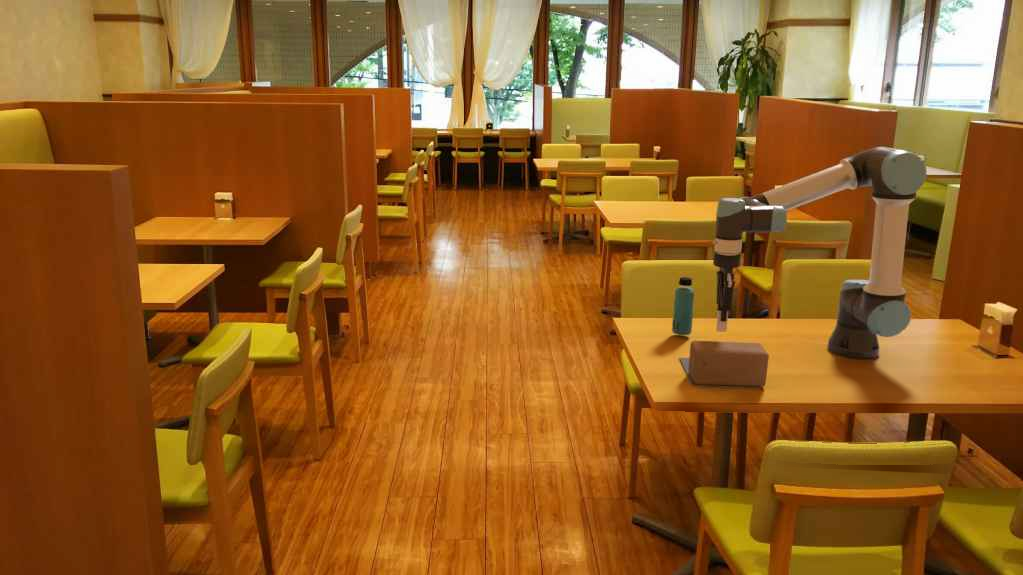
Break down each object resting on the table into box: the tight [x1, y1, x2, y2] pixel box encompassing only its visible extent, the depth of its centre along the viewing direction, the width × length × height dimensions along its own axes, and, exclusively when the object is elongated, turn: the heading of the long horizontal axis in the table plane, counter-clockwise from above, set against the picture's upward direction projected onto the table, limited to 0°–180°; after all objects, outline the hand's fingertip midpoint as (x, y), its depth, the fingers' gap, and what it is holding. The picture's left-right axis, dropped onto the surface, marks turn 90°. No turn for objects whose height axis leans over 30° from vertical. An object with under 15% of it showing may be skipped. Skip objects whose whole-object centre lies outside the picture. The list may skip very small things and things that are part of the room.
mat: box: [678, 357, 762, 390], centre depth 238 cm, size 19×22×1 cm
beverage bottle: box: [671, 276, 696, 336], centre depth 267 cm, size 6×7×20 cm
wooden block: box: [688, 340, 770, 388], centre depth 230 cm, size 10×10×20 cm
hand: (721, 330), depth 241 cm, fingers closed
